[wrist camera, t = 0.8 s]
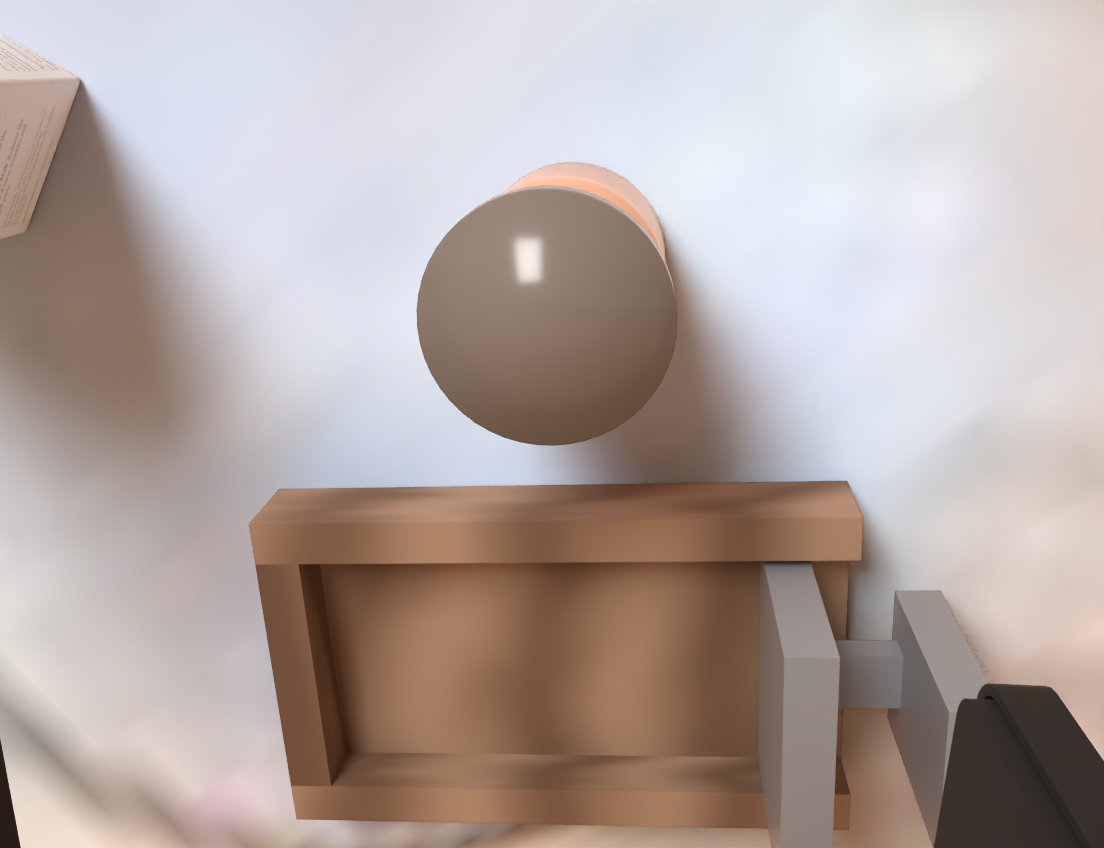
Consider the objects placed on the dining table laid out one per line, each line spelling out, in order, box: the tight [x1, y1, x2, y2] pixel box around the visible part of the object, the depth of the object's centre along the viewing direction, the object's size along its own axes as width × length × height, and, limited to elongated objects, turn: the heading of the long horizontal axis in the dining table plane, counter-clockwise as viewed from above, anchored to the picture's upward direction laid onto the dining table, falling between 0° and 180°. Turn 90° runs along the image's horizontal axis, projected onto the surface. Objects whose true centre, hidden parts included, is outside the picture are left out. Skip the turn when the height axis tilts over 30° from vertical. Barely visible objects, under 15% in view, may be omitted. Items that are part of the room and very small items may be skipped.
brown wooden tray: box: [249, 481, 863, 830], centre depth 37 cm, size 20×12×3 cm, turn 93°
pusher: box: [758, 561, 990, 848], centre depth 33 cm, size 6×8×7 cm
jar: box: [417, 162, 677, 446], centre depth 30 cm, size 6×6×9 cm
